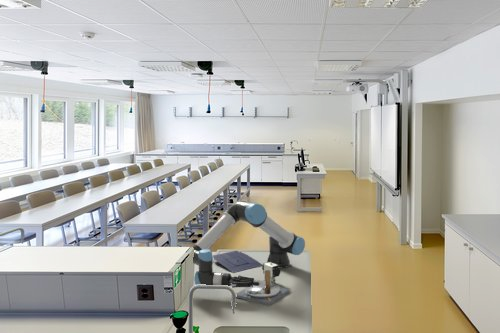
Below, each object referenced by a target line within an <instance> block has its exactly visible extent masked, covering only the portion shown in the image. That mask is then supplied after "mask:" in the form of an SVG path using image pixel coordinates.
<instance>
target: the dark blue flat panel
mask: <svg viewBox="0 0 500 333" xmlns="http://www.w3.org/2000/svg"><path fill="white" fill-rule="evenodd" d="M212 257H213V259H214V260H215V261H216V262H217V263H218V264H221V265H222V266H223V267H225V268H226V269H227V270H229V271H230V272H232V273H233V274H234V273H237V272H241V271H245V270H248V269H254V268H258V267H262V266H263V264H262V263H261V262H260V261H258V260H257V259H254V258H253V257H251V256H250V255H248V254H246V253H244V252H242V251H238V250H233V251H229V252H225V253H224V252H223V253H219V254H214V255H213V254H212Z"/></svg>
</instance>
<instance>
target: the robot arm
mask: <svg viewBox="0 0 500 333" xmlns="http://www.w3.org/2000/svg"><path fill="white" fill-rule="evenodd" d="M239 221H242V222H246V223H248V224H249V225H251V226H252V227H253V228H256V229H257V228H259V229H260V230H261V231H263V232H264V233H266V234H267V235H268V239H269V240H268V241H269V242H268V243H269V246H268V247H269V254H268V257H267V261H266V263H267V262H271V263H273V264H274V263H275V264H276V265H279V268H280V269H283V268H288V267H289V266H290V265H291V261H290V258H289V255H288V254H291V255H295V256H299V255H301V254H302V253H303V252H304V251H305V247H306V241H305V238H304V237H302V236H298V235H296V234H295V232H292V231H290V230H286V229H285V228H284V227H282V226H281V225H280V224H278V223H277V222H276V221H275V220H274V219H272V217H271V218H270V216H268V212H267V210H266V208H265V207H264V206H263V205H262V204H260V203H258V202H251V201H246V200H239V201H237V202H234V203H233V204H231V205H230V206H229V207H227V209H225V210H224V211H223V213H222V216H221V217H220V218H219V219H218V220H217V221H216V222H215V223H214V224H213V225H212V226H211V228H209V229H208V231H206V232H205V234H204V235H202V236H201V237H200V239H198V241H196V242H195V244H194V245H193V246H192V247H193V248H194V257H193V263H192V264H194V265H196V266H198V270H197V271H196V272H195V273H194V276H193V281H194V284H195V285H197V284H206V285H228V286H230V287H232V288H234V289H235V288H245V287H251V286H252V287H253V286H263V287H266V281H265V280H259V279H258V280H257V279H255V278H254V277H250V276H249V277H248V276H242V275H241V274H240V275H239V274H238V275H237V276H232V275H231V273H226V272H224V273H223V272H213V263H214V262H213V259H214V257H213V251H212V250H211V249H210V248H211V247H212V246H213V245H214V244H215V243H217V241H218V240H219V239H220V238H221V237H222V236H223V234H225V233H226V232H227V231H228V229H229V228H230V227H232V225H235V224H237V222H239ZM197 286H198V285H197Z"/></svg>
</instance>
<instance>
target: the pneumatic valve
mask: <svg viewBox="0 0 500 333" xmlns="http://www.w3.org/2000/svg"><path fill="white" fill-rule="evenodd" d="M262 265H263V266H261V269H262V271H263V272H262V273H263V274H264V275H265V270H270V281H271V283H274V284H276V281H277V280H276V278H277V277H280V274H281V268H279V265H276V264H275V263H274V264H273V263H271V262H267V261H266V262H264V263H263V264H262Z"/></svg>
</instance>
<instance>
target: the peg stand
mask: <svg viewBox="0 0 500 333" xmlns="http://www.w3.org/2000/svg"><path fill="white" fill-rule="evenodd" d="M264 281H266V287H263V286H253V287H252V286H251V287H244V289H245V294H246V295H248V296H250V297H253V298H271V297H274V296H277V295H278V294H279V293H280V287H281V286H280V285H277V284H276V283H271V281H270V270H265V274H264Z"/></svg>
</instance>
